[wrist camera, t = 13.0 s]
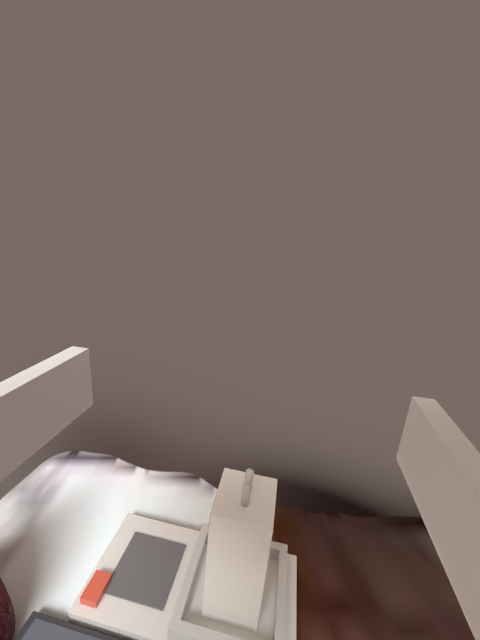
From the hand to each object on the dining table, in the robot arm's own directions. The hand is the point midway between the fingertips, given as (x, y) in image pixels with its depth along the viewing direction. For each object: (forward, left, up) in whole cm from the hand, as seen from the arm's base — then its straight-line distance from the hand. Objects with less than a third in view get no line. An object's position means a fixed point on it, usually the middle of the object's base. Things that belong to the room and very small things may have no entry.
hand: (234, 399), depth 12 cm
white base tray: (+4, -10, -28) cm, 30 cm away
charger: (0, -10, -27) cm, 29 cm away
